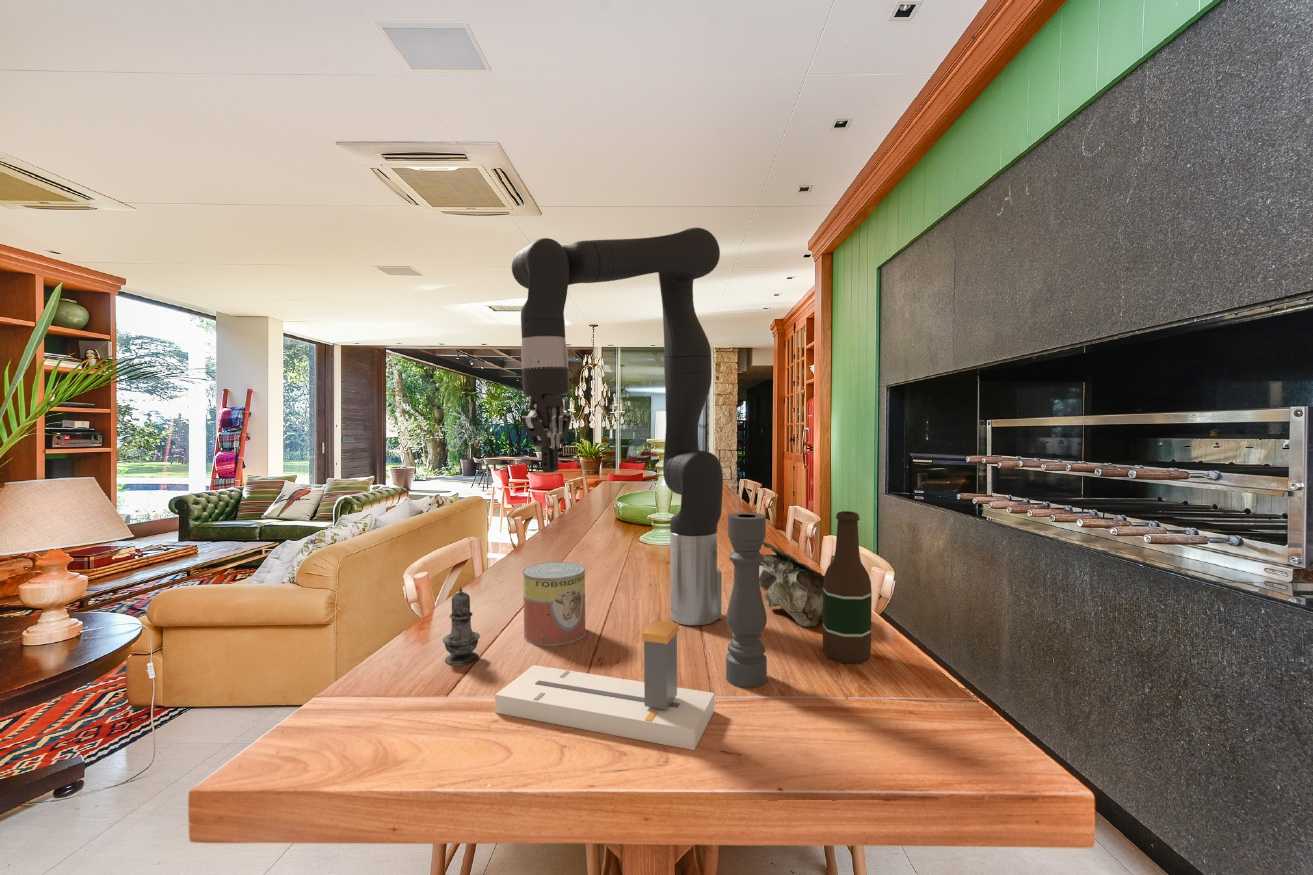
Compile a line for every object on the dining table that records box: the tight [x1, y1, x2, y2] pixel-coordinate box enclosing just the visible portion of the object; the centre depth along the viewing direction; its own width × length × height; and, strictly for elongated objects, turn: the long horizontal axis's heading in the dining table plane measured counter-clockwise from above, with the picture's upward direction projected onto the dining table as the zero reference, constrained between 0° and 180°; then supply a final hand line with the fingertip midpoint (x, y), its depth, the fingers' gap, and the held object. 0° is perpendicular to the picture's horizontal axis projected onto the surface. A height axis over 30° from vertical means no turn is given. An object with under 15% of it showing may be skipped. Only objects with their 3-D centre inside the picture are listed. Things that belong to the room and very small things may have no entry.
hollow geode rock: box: [759, 540, 824, 628], centre depth 125 cm, size 28×13×15 cm
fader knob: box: [641, 620, 680, 710], centre depth 78 cm, size 3×5×10 cm
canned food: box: [522, 561, 587, 647], centre depth 110 cm, size 11×11×12 cm
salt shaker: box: [442, 586, 481, 667], centre depth 99 cm, size 6×6×12 cm
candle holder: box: [725, 512, 768, 689], centre depth 91 cm, size 6×6×25 cm
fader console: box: [494, 664, 715, 751], centre depth 81 cm, size 28×10×3 cm, turn 71°
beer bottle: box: [822, 510, 873, 664], centre depth 100 cm, size 8×8×24 cm
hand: (550, 471), depth 99 cm, fingers closed
